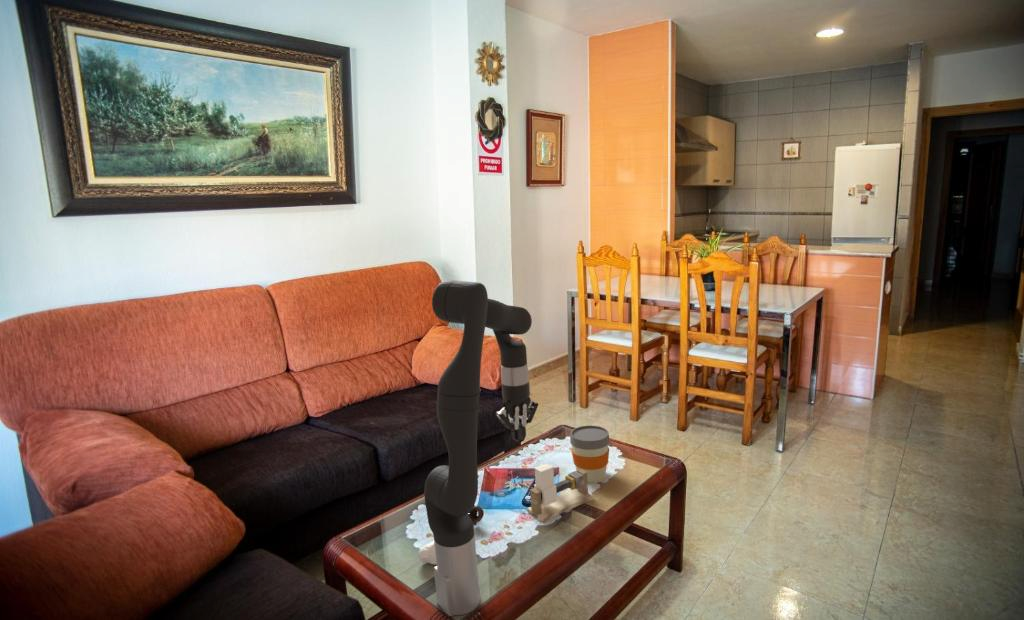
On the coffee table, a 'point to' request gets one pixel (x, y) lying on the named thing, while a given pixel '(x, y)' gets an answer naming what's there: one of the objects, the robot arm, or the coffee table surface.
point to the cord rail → (562, 496)
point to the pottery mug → (474, 514)
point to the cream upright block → (545, 484)
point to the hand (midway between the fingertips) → (519, 439)
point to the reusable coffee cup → (590, 451)
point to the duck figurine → (428, 553)
